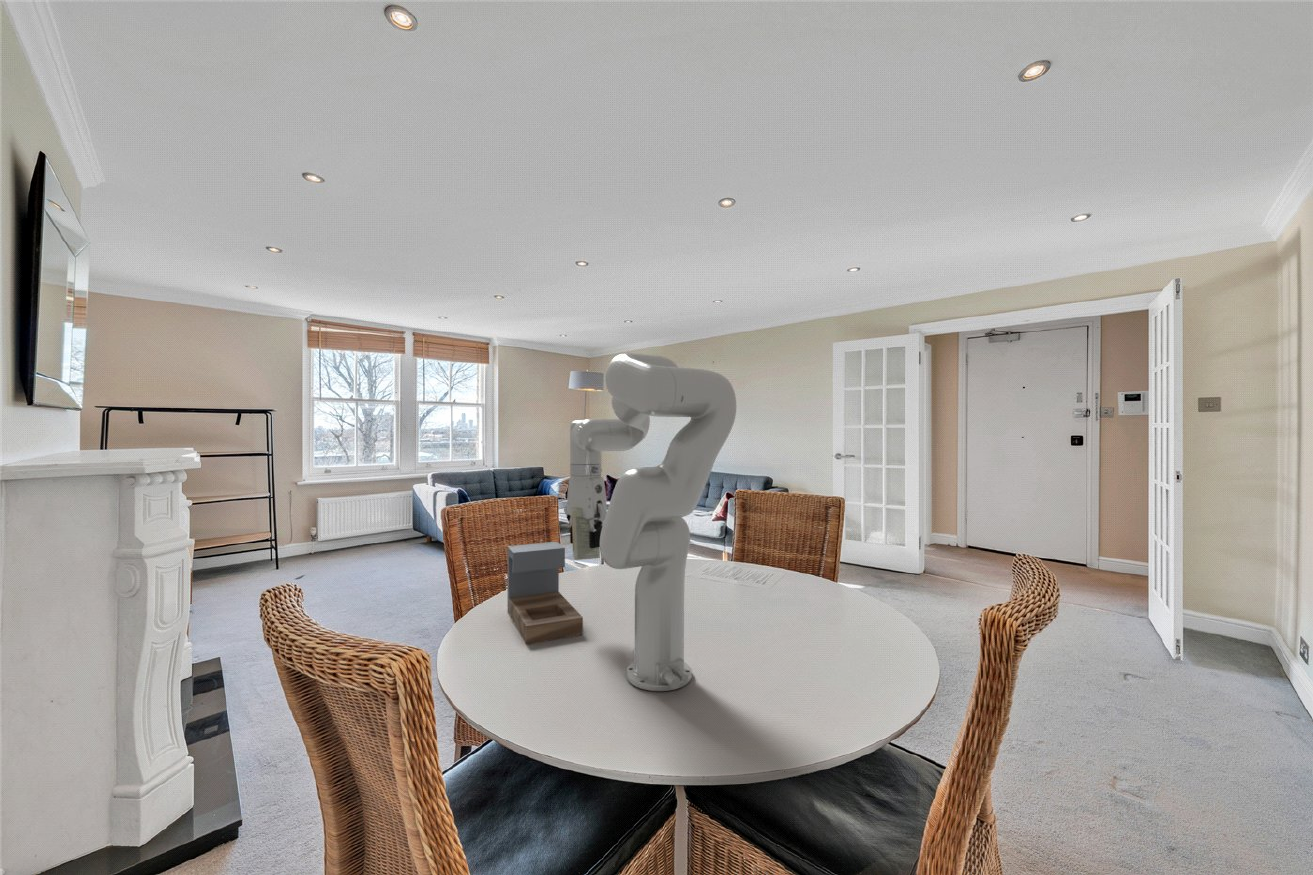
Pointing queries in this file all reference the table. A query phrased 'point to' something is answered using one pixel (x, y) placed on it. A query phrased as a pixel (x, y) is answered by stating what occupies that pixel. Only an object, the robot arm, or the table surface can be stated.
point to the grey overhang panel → (534, 568)
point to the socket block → (545, 617)
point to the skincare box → (582, 537)
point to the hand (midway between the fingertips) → (585, 544)
